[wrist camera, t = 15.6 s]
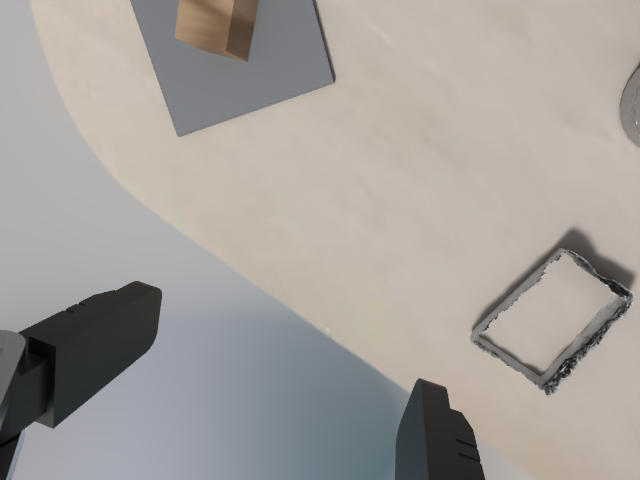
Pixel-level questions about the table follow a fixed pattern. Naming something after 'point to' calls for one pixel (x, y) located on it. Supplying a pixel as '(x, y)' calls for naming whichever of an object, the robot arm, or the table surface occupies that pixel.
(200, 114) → the charcoal mat
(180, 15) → the cream and brown block
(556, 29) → the table surface
